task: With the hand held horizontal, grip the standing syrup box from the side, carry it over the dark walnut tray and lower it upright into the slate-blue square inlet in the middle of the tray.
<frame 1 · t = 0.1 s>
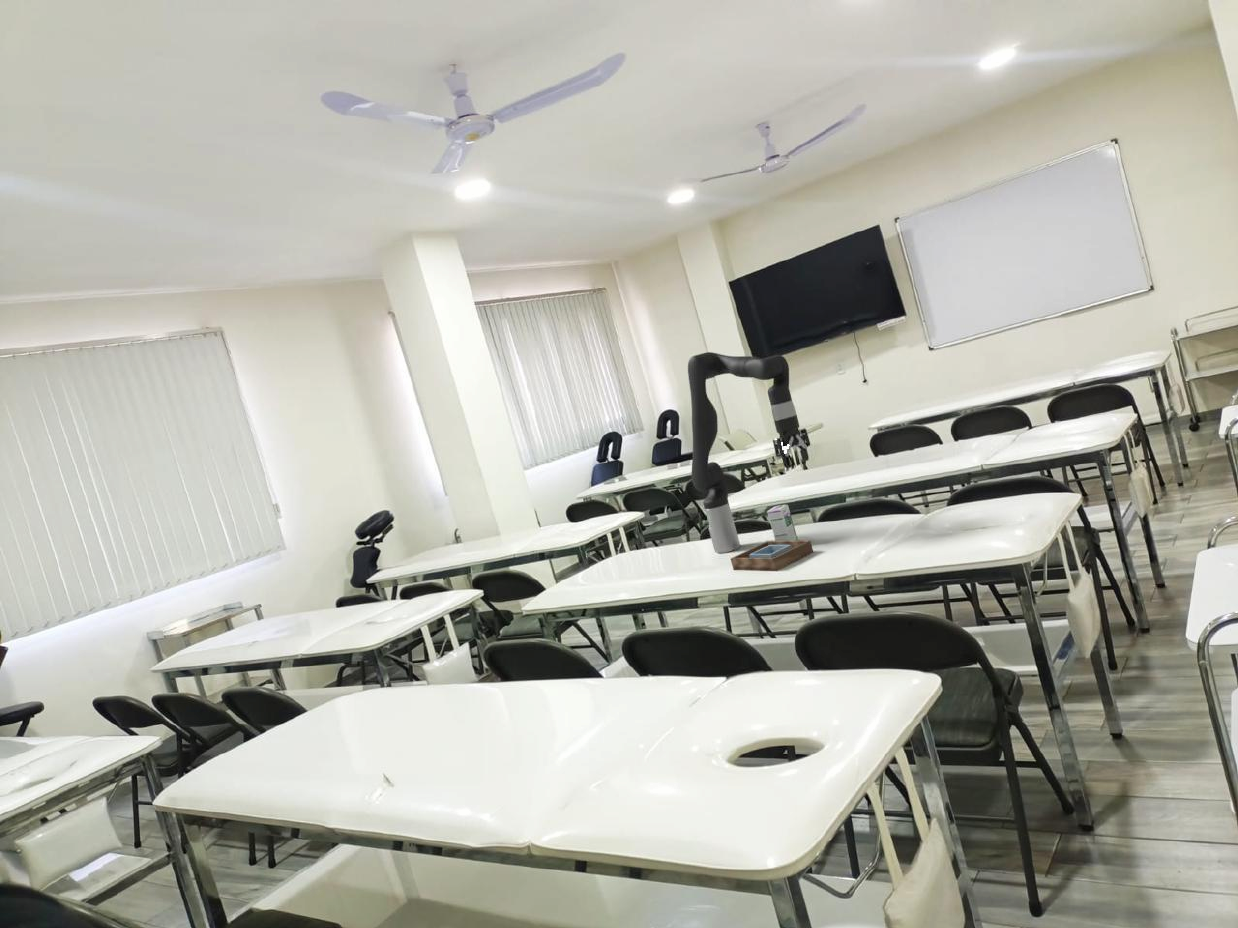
hand: (797, 464, 266), 29 cm above the table, tool pointing down, fingers open, 8 cm apart
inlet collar: (771, 553, 270), in the walnut tray, point 2 cm above the table
walnut tray: (773, 561, 270), on the table
syrup box: (788, 547, 284), on the table
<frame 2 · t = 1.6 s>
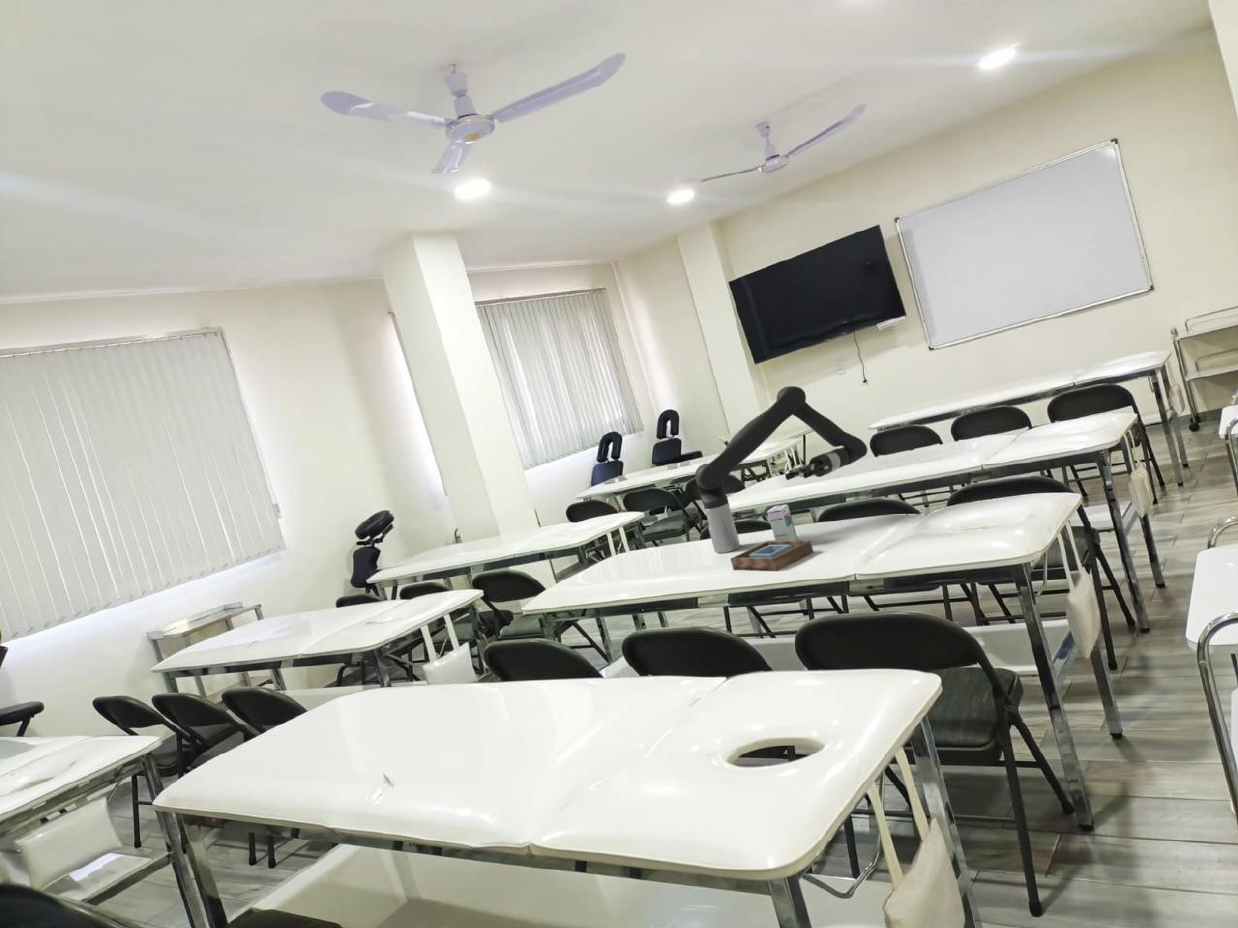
hand: (795, 476, 289), 22 cm above the table, tool horizontal, fingers open, 8 cm apart
nothing on the table moved.
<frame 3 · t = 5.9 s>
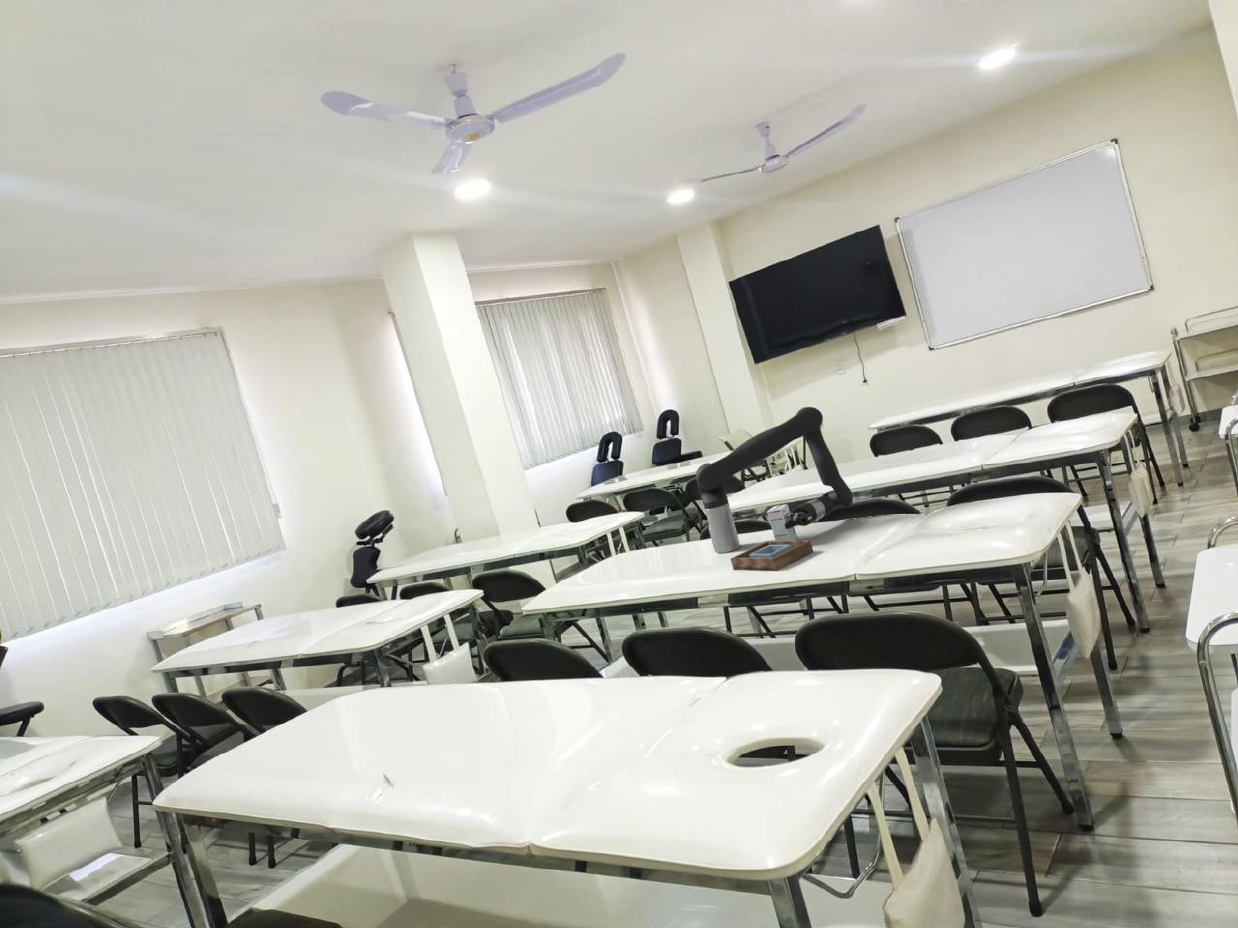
hand: (778, 526, 282), 8 cm above the table, tool horizontal, fingers closed on syrup box, 7 cm apart
syrup box: (788, 547, 284), on the table, touching gripper
when the fingers open (10 cm above the table, at t = 11.4 s): syrup box drops 1 cm, resting on walnut tray.
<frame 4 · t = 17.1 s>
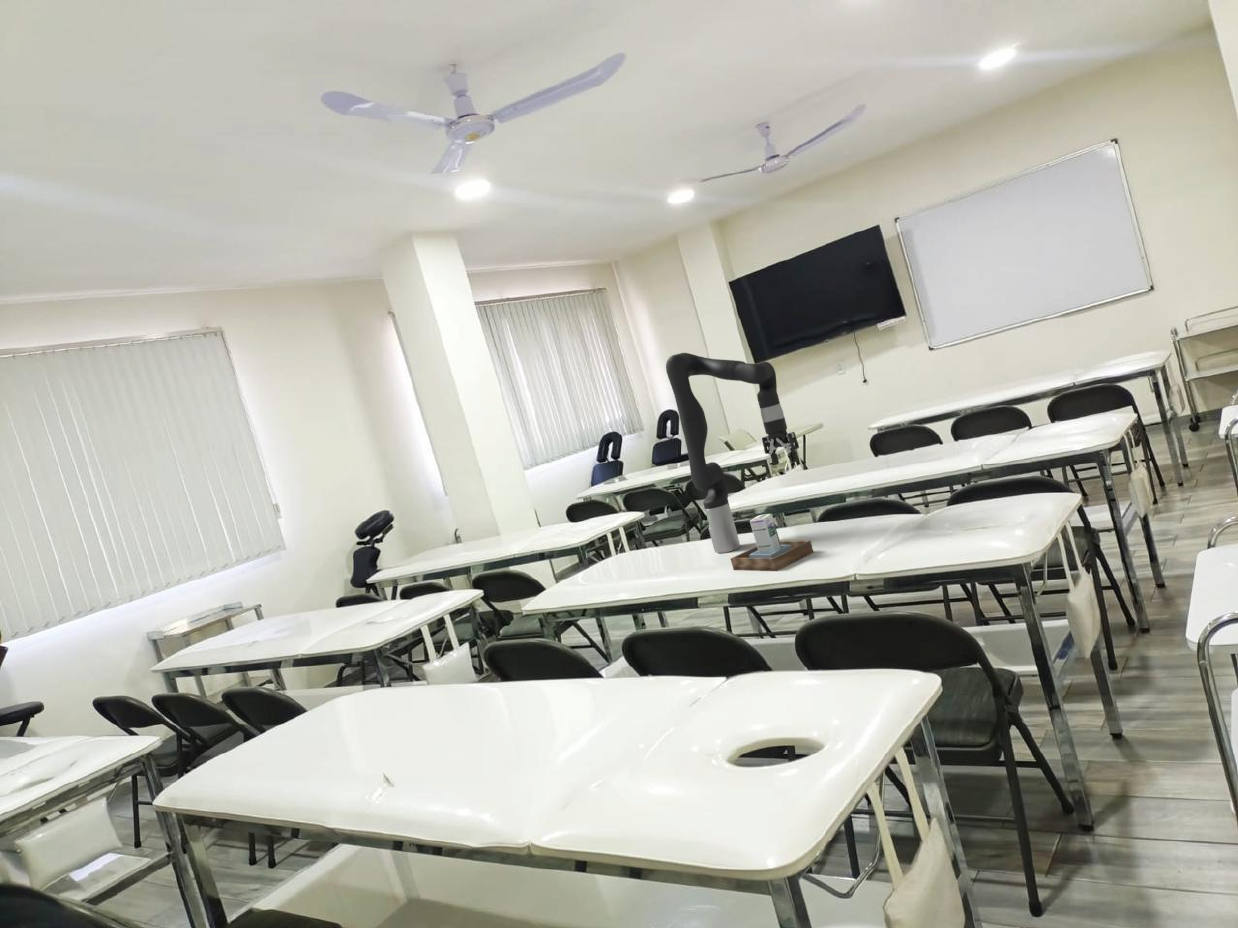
hand: (785, 463, 284), 28 cm above the table, tool pointing down, fingers open, 8 cm apart
syrup box: (772, 558, 270), point 1 cm above the table, touching walnut tray
at the end: syrup box 0.4 cm off-centre on the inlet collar, point 0.8 cm above the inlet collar's base; syrup box tilted 0°; the gripper is holding nothing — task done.
